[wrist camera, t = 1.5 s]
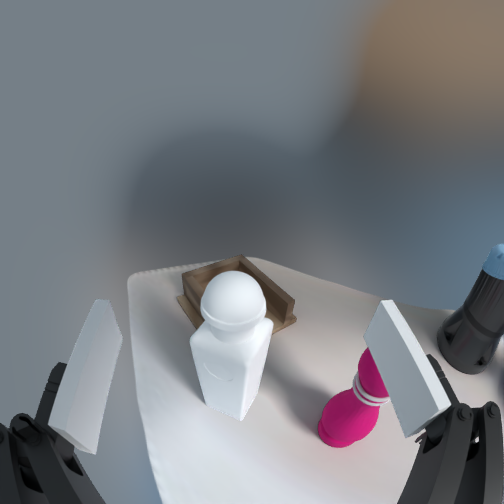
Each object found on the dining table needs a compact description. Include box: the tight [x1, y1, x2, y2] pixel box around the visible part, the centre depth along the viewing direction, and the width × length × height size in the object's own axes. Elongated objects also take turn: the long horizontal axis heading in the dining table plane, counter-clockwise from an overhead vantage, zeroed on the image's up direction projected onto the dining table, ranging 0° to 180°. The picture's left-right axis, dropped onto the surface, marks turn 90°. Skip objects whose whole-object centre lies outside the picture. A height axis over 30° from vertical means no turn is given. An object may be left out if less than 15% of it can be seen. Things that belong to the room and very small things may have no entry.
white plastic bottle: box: [190, 271, 273, 420], centre depth 29 cm, size 6×6×22 cm
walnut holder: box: [177, 255, 297, 334], centre depth 48 cm, size 16×16×6 cm
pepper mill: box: [318, 348, 391, 448], centre depth 25 cm, size 7×7×20 cm
